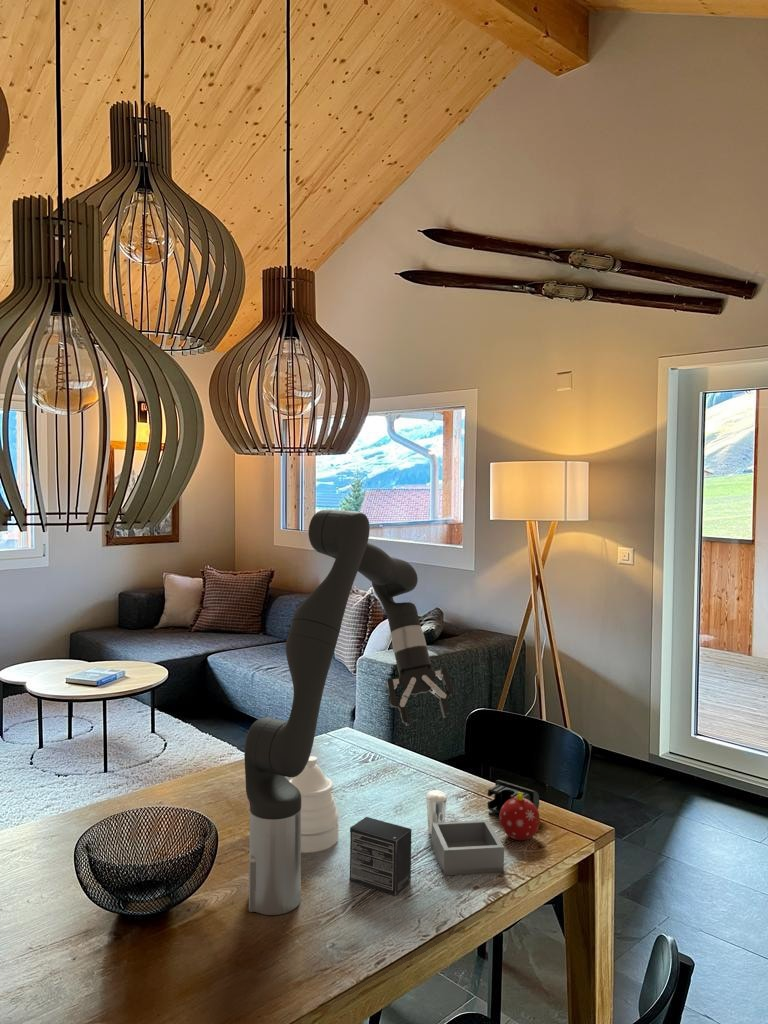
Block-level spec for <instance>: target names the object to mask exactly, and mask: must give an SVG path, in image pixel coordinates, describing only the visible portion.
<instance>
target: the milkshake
mask: <svg viewBox="0 0 768 1024" xmlns="http://www.w3.org/2000/svg"><path fill="white" fill-rule="evenodd" d="M450 792H451V791H448V794H446V793H445V792H443V791H442V790H440V789H439V790H438V789H437V790H436V789H435V790H433V789H432V790H430V791H428V792H427V794H425V795H426V797H425V798H426V799H425V800H426V809H427V810H426V811H427V827H428V828H427V829H428V830H427V831H428V835H430V836H432V823H434V822H446V821H445V819H446V809H447V801H448V796H449V795H450Z"/></svg>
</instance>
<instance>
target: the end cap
mask: <svg viewBox="0 0 768 1024" xmlns="http://www.w3.org/2000/svg"><path fill="white" fill-rule="evenodd" d="M518 792H521V793H523V798H525V799H528V800H529V801H531V802H532V803H533V804H534V805H535V807H536V808H537V810H538V811H539V807H540V796H539V793H538V792H537V791H536V790H533V789H530V788H527V787H523V786H520V785H517V784H514V783H510V782H507V781H503V780H501V779H497V780H495V785H494V786H493V787H491V788H489V789H488V790H487V797H489V798H490V797H491V796H493V798H492V799H490V800H488V801H487V809H488V810H489V811H487V812H488V816H490V817H495V818H496V819H499V814H500V810H501V808H502V806H503V805H504V803H505V802H506V801H508V800H509V799H511V798H515V797H517V793H518ZM519 794H520V793H519ZM520 795H521V794H520Z"/></svg>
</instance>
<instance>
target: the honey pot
mask: <svg viewBox="0 0 768 1024" xmlns="http://www.w3.org/2000/svg"><path fill="white" fill-rule="evenodd" d="M317 761H318V757H317V756H315V755H310V757H309V760H308V762H307V765H306V766H305V768H304V770H303V771H302V772H301V773H300V774H299V775H298V776H296V777H292V778H290V780H288V781H289V782H290V783H292V784H293V785H294V786H295V787H296V788H297V789H298V790H299V791H300V793H301V853H307V854H309V853H316V852H322V851H325V850H328V849H330V848H331V847H333V846H335V844H337V842H338V840H339V837H340V836H339V829H340V828H339V827H340V826H339V817H340V815H339V810H338V809H337V806H336V801H335V798H334V797H335V796H334V795H333V794H332V790H333V788H334V782H333V781H332V779H330V778H329V777H327V776H325V774H324V772H323V771H322V769H321V767H320V765H318V764H317Z"/></svg>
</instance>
